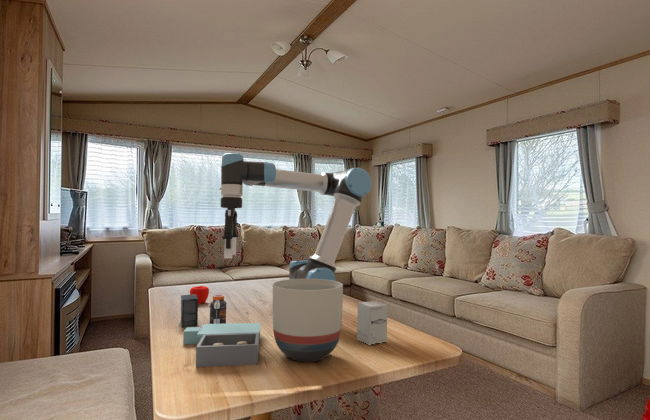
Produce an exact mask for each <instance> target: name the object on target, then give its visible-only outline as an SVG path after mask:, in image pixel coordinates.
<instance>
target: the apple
mask: <svg viewBox="0 0 650 420" xmlns="http://www.w3.org/2000/svg"><path fill="white" fill-rule="evenodd" d="M193 294H196V296H197V298H198V305H202V304H204V303H206V302H207V300H208V298H209V294H210V289H209V287H208V286H206V285H205V286H204V285H200V286H199V285H198V286H192V287H191V288H190V289H189V295H193Z"/></svg>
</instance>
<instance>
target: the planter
mask: <svg viewBox="0 0 650 420" xmlns="http://www.w3.org/2000/svg"><path fill="white" fill-rule="evenodd" d="M343 288H344V284H343V283H342V282H339V281H332V280H325V279H283V280H278V281H274V282H273V284H272V331H273V337H274V340H275V343H276V345H277V348H278V349H279V350H280V352H281V353H283V354H284V355H285V356H286V357H288V358H290V359H291V360H293V361H297V362H301V363H302V362H304V363H305V362H307V363H310V362H316V361H320V360H323V359H324V358H326V357H327V356H329V355H330V354H331V353H332V352H333V351H334V350H335V349H336V347H337V345H338V343H339V341H340V338H341V333H342V327H343V326H342V325H343V324H342V323H343V301H344V300H343V296H344V295H343V294H344V289H343Z"/></svg>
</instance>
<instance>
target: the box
mask: <svg viewBox="0 0 650 420" xmlns="http://www.w3.org/2000/svg"><path fill="white" fill-rule="evenodd" d="M198 313H199V304H198V298H197V296H196V294H193V295H190V294H183V295H180V325H181V328H183V329H184V328H185V329H186V328H187V327H199V326H198V323H199V322H198V321H199V320H198V318H199V315H198Z"/></svg>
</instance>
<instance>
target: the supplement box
mask: <svg viewBox="0 0 650 420" xmlns="http://www.w3.org/2000/svg"><path fill="white" fill-rule="evenodd" d="M356 320H357V321H356V322H357V323H356V325H357V326H356V330H357V332H356V337H357V338H356V340H357V339H358V341H359V340H360V341H359V342H361V341H362V343H363V342H364V343H363V344H365V343H366V344H365V345H367V344H368V345H367V346H369V345H370V346H372V345H371V344H374V345H376V344H375V343H380V344H382V343H381V342H386V341H387V340H388V304H386V303H383V302H379V301H376V300H372V301H371V300H370V301H360V302H357V319H356ZM387 342H388V341H387Z"/></svg>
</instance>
